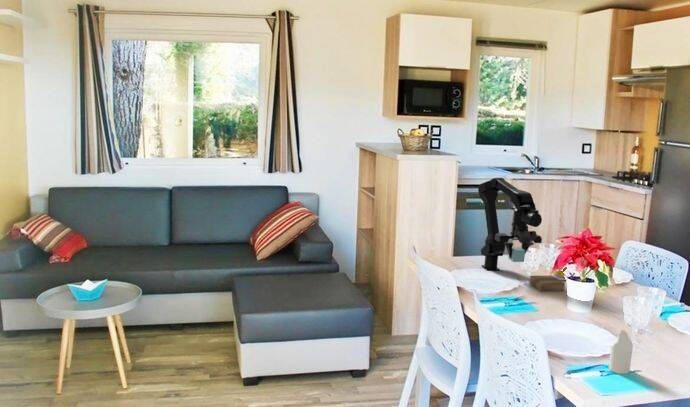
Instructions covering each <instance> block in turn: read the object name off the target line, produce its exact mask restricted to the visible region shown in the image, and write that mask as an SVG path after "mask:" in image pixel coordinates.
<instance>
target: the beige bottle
mask: <svg viewBox="0 0 690 407" xmlns="http://www.w3.org/2000/svg"><path fill="white" fill-rule="evenodd" d="M617 335H618V336H616V338H615V340H614V341H613V342H612V343H611V346H610V354H609V362H608V370H609V371H610V372H613V373H615V374H619V375H627V374H629V373H630V371H631V370H630V369H631V363H632V356H633V347H634V346H633V342H632V340H631V338H630V337H629V334H628V331H626V330H624V329H621V330H620V331H619V333H618V334H617Z"/></svg>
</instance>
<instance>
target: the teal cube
mask: <svg viewBox="0 0 690 407" xmlns="http://www.w3.org/2000/svg"><path fill="white" fill-rule="evenodd" d="M525 255H526V254H525V250H524V249H522V247H520V246H519V247H516V246H515V247H513V246H512V256H511V258H510V257H509V254H508V255H507V257H508V258H507V259H508V260H509V261H511V262H513V263H525V259H526V258H525Z"/></svg>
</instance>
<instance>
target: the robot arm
mask: <svg viewBox="0 0 690 407" xmlns="http://www.w3.org/2000/svg"><path fill="white" fill-rule="evenodd" d="M477 191H478V196H479V198H480V199H481V201H482V202H483V204H484V205H483V206H484V213H485V221H486V228H487V236H486V238H485V240H484V242H485V243H484V244H485V245H484V246H483V247H481V249H480V255H482V256H484V262H483V263H484V264H482V265H481V267H482V269H484V270H485V269H488V270H487V271H500V270H501V269H500V268H499V267H498V264H499V263H498V261H499V257H503V256H504V253H505V251H506V250H507V251H506V252H507V254H508V255H509V257H510V258H511V256H512V247H513V246H514V243H513V241H518V242H519V243H520V244H521V248H522V249H524V250H525V255H526V253H527V252H528V250H529V248H531V246H534V244H542V241H543V238H542V236H541V235H539V234H537V231H536V230H529V226H530V227H533V228H537V227H539V226H540V225H541V224H542V221H543V218H542V216H541V214H540V212H539V210H538V209H537V208H536V203H535V202H534V199H533V196H532V194H531V193H530V192H529V191H525V190H521V189H518V188H517V187H516V186H514V185H512V184H511V183H510V182H508V181H507V180H505V178H503V177H494V178H492V179H490V180H487V181H485V182H482V183H480V184H479V186H478V188H477ZM499 192H502V193H503V194H505V195H506V196H507V197H509V199H510V202H511V204H513V206H511V207H510V209H511V210H513V217H512V222H511V226H512V228H511V232H510V235H508V234H506V233H505V232H502V233H501V232H500V229H499V220H498V213H497V206H496V201H497V199H498V196H499Z"/></svg>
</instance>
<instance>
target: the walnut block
mask: <svg viewBox="0 0 690 407" xmlns="http://www.w3.org/2000/svg"><path fill="white" fill-rule="evenodd" d="M565 284H566V283H565V281H564V280H559V279H557V278H556V277H554V276H553V275H551V274H550V275H549V274H548V275H530V277H529V285H530V286H532V287H533V288H535V289H537V290H538V291H540V292H542V293H544V292H545V293H547V292H551V293H552V292H557V293H558V292H565Z"/></svg>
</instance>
